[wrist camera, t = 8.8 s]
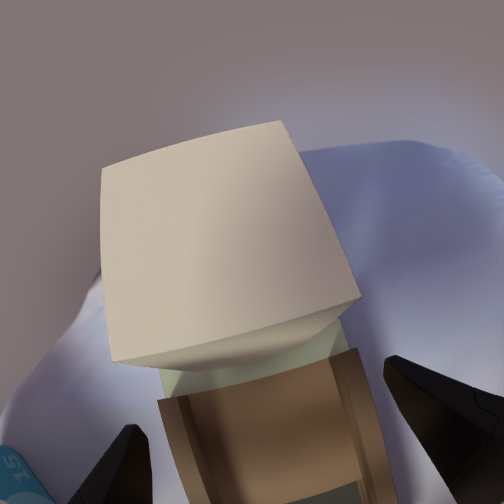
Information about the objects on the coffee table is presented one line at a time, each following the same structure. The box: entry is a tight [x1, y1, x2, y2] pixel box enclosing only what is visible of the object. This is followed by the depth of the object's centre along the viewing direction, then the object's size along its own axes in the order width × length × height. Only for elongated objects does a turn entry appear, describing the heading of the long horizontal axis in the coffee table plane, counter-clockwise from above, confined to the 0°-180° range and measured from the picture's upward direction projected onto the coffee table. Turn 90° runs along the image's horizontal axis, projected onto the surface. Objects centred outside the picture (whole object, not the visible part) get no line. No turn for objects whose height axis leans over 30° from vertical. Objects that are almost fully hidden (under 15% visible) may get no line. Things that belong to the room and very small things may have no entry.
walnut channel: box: [157, 317, 398, 504], centre depth 12 cm, size 23×10×4 cm, turn 15°
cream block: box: [100, 120, 362, 373], centre depth 11 cm, size 5×5×10 cm
